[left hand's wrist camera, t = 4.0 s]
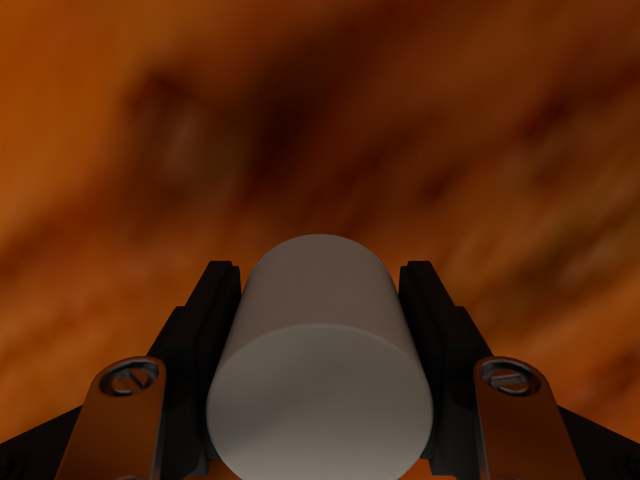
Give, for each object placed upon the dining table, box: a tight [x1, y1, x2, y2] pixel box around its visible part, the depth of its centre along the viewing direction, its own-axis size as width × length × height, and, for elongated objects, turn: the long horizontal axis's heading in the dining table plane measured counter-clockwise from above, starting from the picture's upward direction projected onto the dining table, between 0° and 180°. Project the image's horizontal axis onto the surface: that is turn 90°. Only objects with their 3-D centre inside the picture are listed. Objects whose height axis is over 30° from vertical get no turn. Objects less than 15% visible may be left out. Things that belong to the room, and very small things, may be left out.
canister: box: [206, 234, 434, 480], centre depth 10 cm, size 4×4×4 cm
